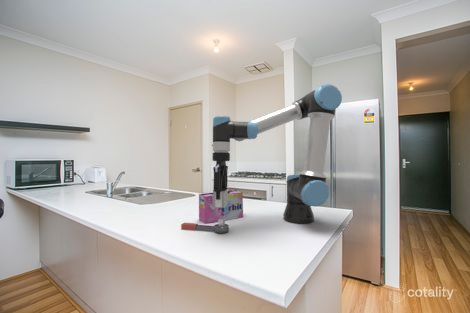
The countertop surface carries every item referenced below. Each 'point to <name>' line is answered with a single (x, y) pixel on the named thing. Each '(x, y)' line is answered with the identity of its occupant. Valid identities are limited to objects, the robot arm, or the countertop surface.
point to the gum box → (214, 213)
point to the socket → (224, 198)
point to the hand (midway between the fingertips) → (220, 205)
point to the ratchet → (208, 227)
